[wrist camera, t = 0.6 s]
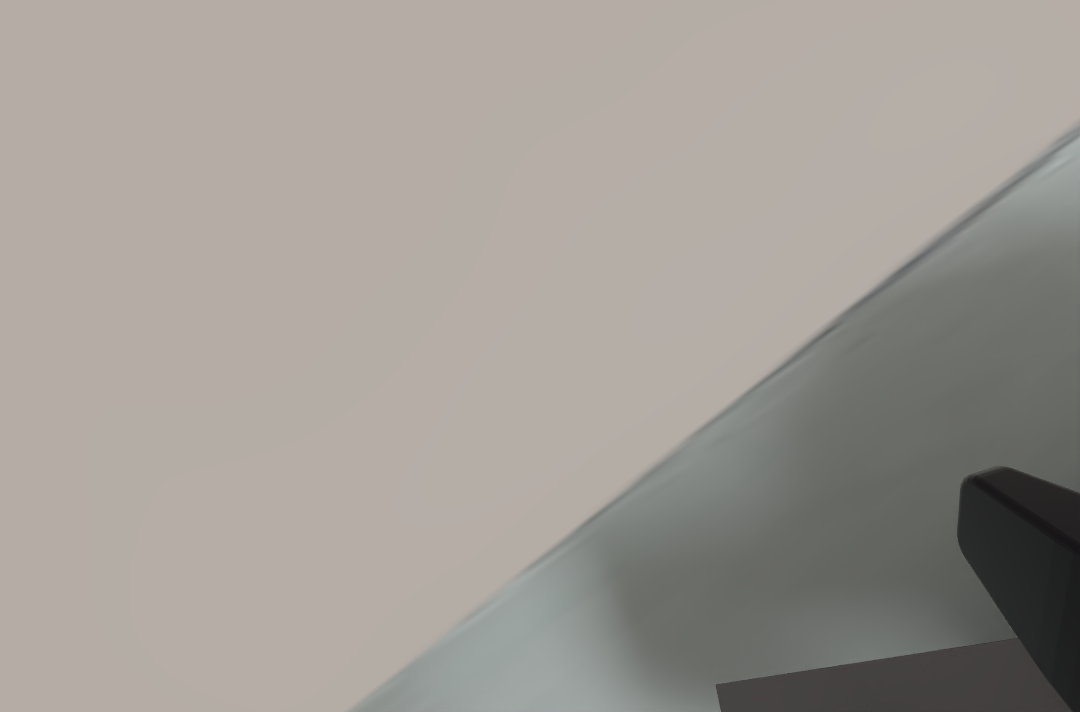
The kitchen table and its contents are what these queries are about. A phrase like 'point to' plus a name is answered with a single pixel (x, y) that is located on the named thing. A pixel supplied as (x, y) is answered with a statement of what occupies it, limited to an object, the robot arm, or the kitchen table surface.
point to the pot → (907, 685)
